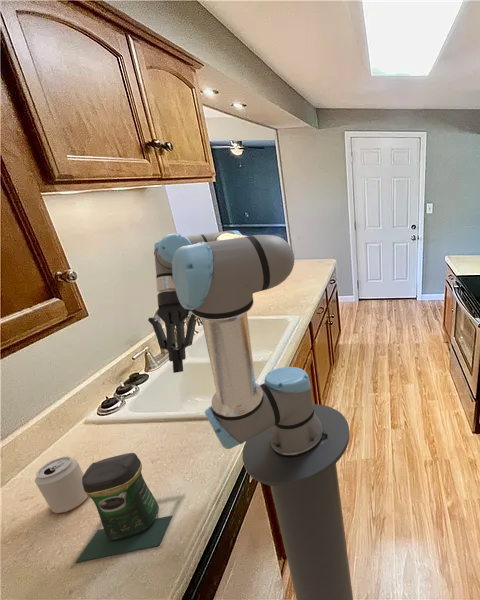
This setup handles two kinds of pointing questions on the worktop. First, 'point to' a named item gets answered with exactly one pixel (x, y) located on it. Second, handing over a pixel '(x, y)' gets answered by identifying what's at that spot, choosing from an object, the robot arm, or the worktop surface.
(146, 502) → the coffee jar
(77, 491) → the can
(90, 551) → the mat
